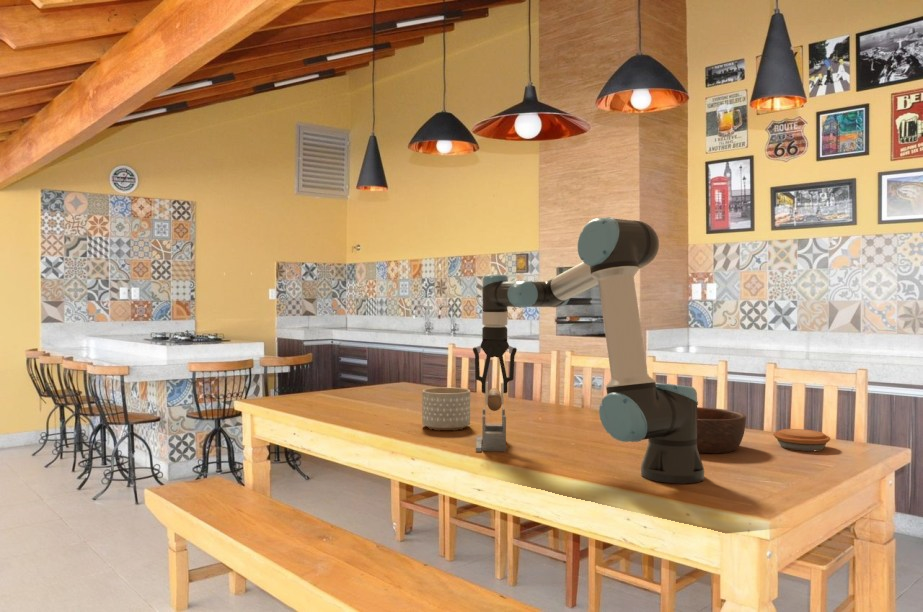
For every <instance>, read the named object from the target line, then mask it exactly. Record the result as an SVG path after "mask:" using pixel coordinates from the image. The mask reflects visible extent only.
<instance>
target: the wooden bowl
mask: <svg viewBox="0 0 923 612" xmlns="http://www.w3.org/2000/svg"><path fill="white" fill-rule="evenodd" d="M746 424H747V416H746V415H745V413H741V412H738V411H736V410H735V411H734V410H729V409H724V408H713V407H698V406H697V449H698V452H699V454H700V453H701V454H727V453H732V452H734V451H736V450H737V449H739V447H740V445H741V443H742V440H743V439H744V435H745V431H746Z"/></svg>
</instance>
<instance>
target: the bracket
mask: <svg viewBox="0 0 923 612" xmlns="http://www.w3.org/2000/svg"><path fill="white" fill-rule="evenodd" d="M481 429H482V435H481V434H480V435H479V434H478V435H476V441H475V453H482V452H506V451H507V415H506V408H501V423H486V407H482V428H481Z"/></svg>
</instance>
